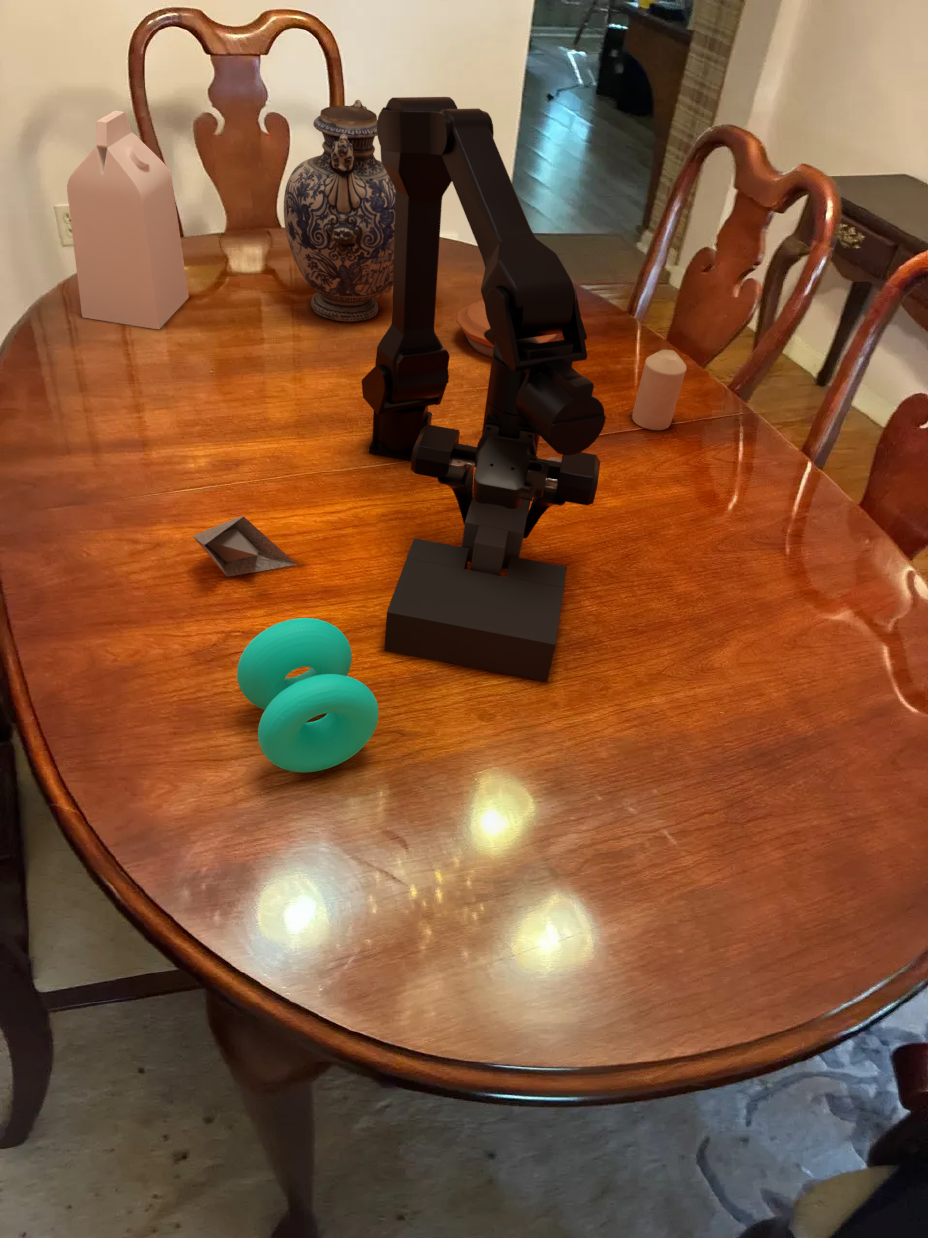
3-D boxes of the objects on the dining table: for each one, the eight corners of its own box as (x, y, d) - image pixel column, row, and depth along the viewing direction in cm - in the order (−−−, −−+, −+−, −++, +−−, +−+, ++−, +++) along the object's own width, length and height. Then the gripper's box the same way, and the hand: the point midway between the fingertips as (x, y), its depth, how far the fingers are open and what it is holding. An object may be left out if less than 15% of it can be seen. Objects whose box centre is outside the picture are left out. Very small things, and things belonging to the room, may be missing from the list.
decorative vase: (400, 344, 139) (412, 141, 120) (275, 331, 138) (268, 125, 119) (408, 287, 155) (420, 101, 136) (296, 275, 153) (293, 85, 135)
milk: (116, 285, 144) (88, 99, 126) (188, 297, 143) (170, 111, 126) (82, 317, 135) (46, 120, 117) (159, 329, 134) (135, 134, 117)
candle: (669, 433, 127) (689, 366, 120) (630, 426, 127) (647, 358, 120) (671, 414, 131) (689, 348, 124) (632, 407, 131) (649, 341, 125)
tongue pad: (454, 578, 94) (459, 539, 91) (475, 507, 104) (480, 470, 101) (512, 589, 94) (519, 550, 91) (527, 517, 104) (534, 479, 100)
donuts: (265, 792, 76) (260, 710, 69) (237, 706, 82) (229, 623, 76) (380, 761, 79) (386, 680, 73) (344, 681, 86) (346, 600, 79)
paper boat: (269, 519, 101) (324, 538, 96) (254, 576, 102) (308, 598, 96) (175, 498, 92) (231, 519, 86) (160, 561, 92) (214, 585, 87)
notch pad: (384, 650, 89) (386, 612, 86) (410, 575, 98) (413, 537, 95) (547, 682, 88) (555, 644, 85) (558, 603, 97) (567, 566, 94)
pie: (571, 343, 145) (577, 313, 141) (523, 378, 134) (528, 346, 131) (488, 313, 150) (492, 282, 147) (435, 344, 140) (438, 312, 136)
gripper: (403, 424, 84) (394, 559, 94) (607, 461, 83) (575, 594, 93) (427, 369, 92) (417, 499, 102) (613, 402, 91) (583, 530, 101)
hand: (495, 530), depth 99 cm, fingers closed on tongue pad, 6 cm apart
